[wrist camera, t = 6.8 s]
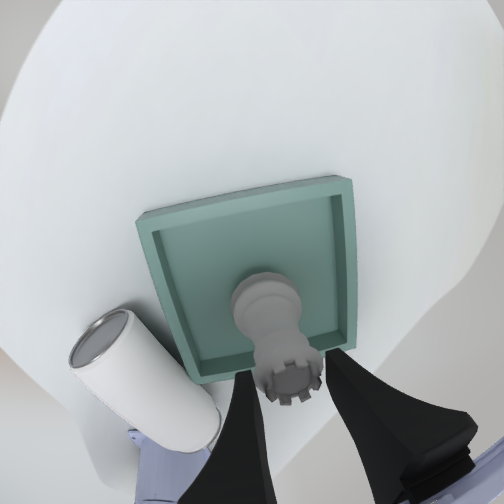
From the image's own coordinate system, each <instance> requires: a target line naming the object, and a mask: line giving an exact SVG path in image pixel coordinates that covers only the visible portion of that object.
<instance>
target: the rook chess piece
mask: <svg viewBox="0 0 504 504" xmlns="http://www.w3.org/2000/svg"><path fill="white" fill-rule="evenodd" d="M230 308H231V312H232V316H233V319H234V323H235V325H236V326H237V328H238V329H239V330H240V331H241V332H242V333H243V335H244V336H246V337H248V338H249V339H250V340H252V341H253V343H254V346H255V350H254V354H253V356H254V360H255V363H256V365H255V369H254V372H253V379H254V383H255V386H256V387H258V388H259V389H260V390H261V391H262V392H263V393H265V394H266V397H267V398H268V399H269V400H270V401H271V402H273V401H275V400H276V399H277V398H279V401H280V405H291V402H292V401H291V398H293V397H297V396H299V398H300V400H301V403H302V402H304V401H306V400H308V399H309V398H311V396H310V394H309V390H310V389H311V388H312V389H313V390H317V391H318V390H319V388H320V386H321V384H322V382H321V380H320V376H321V372H322V370H323V358H322V356H321V355H320V353H319V352H318V350H317V349H315V348H312V347H310V346H309V341H308V339H307V338H306V336H305V335H304V334H302V333H300V331H299V326H298V323H299V320H300V317H301V314H302V305H301V297H300V296H299V294H298V290H297V288H296V287H295V285H294V284H293V282H292V281H291V280H290V279H288V278H286V277H285V276H283V275H282V274H278V273H272V272H263V273H259V274H254V275H251V276H250V277H248V278H247V279H245V280H244V281H242V282H241V283H240V284H239V285H238V287H237V288H236V289H235V291H234V292H233V294H232V299H231V303H230Z"/></svg>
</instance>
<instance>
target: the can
mask: <svg viewBox="0 0 504 504" xmlns="http://www.w3.org/2000/svg"><path fill="white" fill-rule="evenodd" d="M69 365H70V371H71V373H72V374H73V375H74V376H75V377H76V378H77V379H78V380H79V381H80V382H81V383H82V384H83V385H84V386H85V387H86V388H88V389H89V390H90V391H91V392H92V393H93V394H94V395H95V396H96V397H98V398H99V399H100V400H101V401H102V402H103V403H104V404H106V405H107V406H108V407H109V408H110V409H112V410H113V411H114V412H115V413H117V414H118V415H119V416H120V417H122V418H123V419H124V420H125V421H127V422H128V423H129V424H131V425H132V426H133V427H135V428H136V429H137V430H139V431H140V432H142V433H143V434H144V435H146V436H147V437H149V438H150V439H152V440H153V441H155V442H156V443H158V444H159V445H161V446H162V447H164V448H166V449H169V450H173V451H178V452H180V453H183V454H193V453H197V452H199V451H202V450H203V449H205V448H206V447H208V446H209V445H210V444H211V443H212V442H213V441H214V440H215V438H216V437H217V435H218V433H219V431H220V428H221V414H220V412H219V410H218V409H217V407H216V406H215V403H214V401H213V399H212V397H211V396H210V395H209V394H208V393H207V392H206V391H205V390H204V389H203V388H202V387H201V386H200V385H196V384H195V383H194V382H193V381H192V380H191V379H190V377H189V374H188V373H187V372H186V371H185V369H184V368H183V367H182V366H181V365H180V364H179V363H178V362H177V361H176V360H175V359H174V358H173V357H172V356H171V355H170V354H169V352H168V351H167V350H166V349H165V348H164V347H163V346H162V345H161V344H160V343H159V341H158V340H157V339H156V338H155V337H154V336H153V335H152V334H151V332H150V331H149V330H148V329H147V328H146V327H145V326H144V324H143V323H142V322H141V321H140V320H139V319H138V317H137V316H136V315H135V314H134V313H133V312H132V311H130V310H125V309H117V310H114V311H112V312H110V313H108V314H106V315H105V316H103V317H102V318H100V319H99V320H98V321H96V322H95V323H94V324H93V325H92V326H91V327H90V328H88V329H87V330H86V332H85V333H84V334H83V335H82V336H81V337H80V338H79V340H78V341H77V342H76V344H75V345H74V347H73V349H72V351H71V353H70V356H69Z"/></svg>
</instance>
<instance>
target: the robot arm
mask: <svg viewBox="0 0 504 504" xmlns="http://www.w3.org/2000/svg"><path fill="white" fill-rule="evenodd" d="M325 363H326V384H327V387H328V389H329V392H330V395H331V397H332V400H333V402H334V404H335V406H336V408H337V410H338V412H339V413H340V415H341V417H342V419H343V421H344V423H345V424H346V427H347V428H348V430H349V432H350V434H351V436H352V438H353V440H354V442H355V444H356V447H357V450H358V452H359V455H360V458H361V460H362V463H363V466H364V469H365V472H366V475H367V478H368V481H369V484H370V487H371V490H372V493H373V497H374V501H375V504H431V503H432V502H434V501H435V502H434V503H432V504H489V503H491V502H492V501H493V500H494V499H495V498H497V497H498V496H499V495H500V494H501V493H502V492H503V491H504V437H502V438H501V439H500V440H499V441H497V442H496V443H495V444H494V445H493V446H491V447H490V448H489V449H488V450H486V451H485V452H484V453H482V454H481V455H480V456H478V457H477V458H476V459H474V460H472V459H471V458H470V456H469V455H468V454H470V449H469V448H468V447H467V446H468V444H469V443H470V441H471V440H472V439H473V437H474V436H475V434H476V432H477V429H478V426H477V424H476V423H475V422H474V420H473V419H472V418H471V417H470V415H469V414H467V412H463V411H458V410H452V409H447V408H443V407H439V406H436V405H432V404H429V403H426V402H424V401H421V400H418V399H416V398H413V397H411V396H409V395H407V394H404V393H402V392H400V391H399V390H397V389H395V388H393V387H391V386H390V385H387V384H386V383H385V382H383V381H382V380H380V379H378V378H377V377H376V376H374V375H373V374H371V373H370V372H369V371H367V370H366V369H364V368H363V367H362V366H361V365H359V364H358V363H357V362H356V361H354V360H353V359H352V358H351V357H349V356H348V355H347V354H346V353H345V352H344V351H342V350H341V349H340V348H334V349H331V350H328V351H325ZM128 436H129V437H130V438H131V440H132V441H133V442H134V443H135V444H136V446H137V447H138V448H139V449H140V450H141V451H140V459H139V467H138V475H137V484H136V494H135V503H134V504H277V501H276V497H275V492H274V488H273V484H272V479H271V475H270V471H269V466H268V460H267V451H266V441H265V432H264V423H263V416H262V412H261V407H260V403H259V398H258V394H257V391H256V387H255V383H254V379H253V375H252V371H251V369H250V370H245V371H240V372H237V373H236V374H235V382H234V389H233V394H232V399H231V403H230V407H229V410H228V414H227V417H226V420H225V423H224V426H223V428H222V431H221V433H220V436H219V438H218V440H217V442H216V445H215V447H214V449H213V451H212V452H211V453H210V451H209V449H208V448H207V447H206V448H205V449H203V450H202V451H199V452H197V453H193V454H183V453H180V452H178V451H173V450H169V449H166V448H164V447H162V446H161V445H159V444H158V443H156V442H155V441H153V440H152V439H150V438H149V437H147V436H146V435H144V434H143V433H142V432H140V431H128ZM436 500H437V501H436Z"/></svg>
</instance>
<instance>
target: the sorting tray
mask: <svg viewBox="0 0 504 504" xmlns="http://www.w3.org/2000/svg"><path fill="white" fill-rule="evenodd" d="M135 223H136V227H137V231H138V234H139V238H140V241H141V244H142V248H143V251H144V254H145V258H146V261H147V264H148V267H149V270H150V273H151V277H152V280H153V283H154V286H155V289H156V291H157V294H158V297H159V300H160V303H161V306H162V309H163V311H164V314H165V317H166V319H167V322H168V325H169V327H170V330H171V333H172V335H173V338H174V340H175V343H176V345H177V348H178V350H179V353H180V355H181V358H182V360H183V363H184V365H185V367H186V370H187V372H188V374H189V377H190V379H191V380H192V381H193V382H194V383H195V384H196V385H199V384H206V383H212V382H218V381H224V380H229V379H235V374H236V373H237V372H240V371H245V370H250V369H251V371H252V375H253V372H254V369H255V365H256V363H255V360H254V356H253V354H254V350H255V346H254V343H253V341H252V340H250V339H249V338H248V337H246V336H244V335H243V333H242V332H241V331H240V330H239V329H238V328H237V326H236V325H235V323H234V319H233V316H232V312H231V308H230V303H231V299H232V294H233V292H234V291H235V289H236V288H237V287H238V285H239V284H240V283H241V282H242V281H244V280H245V279H247V278H248V277H250V276H251V275H254V274H259V273H263V272H272V273H278V274H282V275H283V276H285V277H286V278H288V279H290V280H291V281H292V282H293V284H294V285H295V287H296V288H297V290H298V294H299V296H300V297H301V305H302V314H301V317H300V320H299V323H298V326H299V331H300V333H302V334H304V335H305V336H306V338H307V339H308V341H309V346H310V347H312V348H315V349H317V350H318V352H319V353H320V355H321V356H322V358H324V357H325V351H328V350H331V349H334V348H340V349H341V350H342V351H347V350H350V349H354V348H356V338H357V245H356V225H355V210H354V197H353V186H352V179H349V178H345V177H341V176H338V175H333V176H326V177H319V178H313V179H306V180H300V181H294V182H288V183H282V184H276V185H271V186H265V187H260V188H254V189H249V190H244V191H239V192H233V193H228V194H224V195H219V196H214V197H209V198H205V199H200V200H195V201H191V202H186V203H182V204H178V205H173V206H169V207H165V208H161V209H157V210H152V211H148V212H144V213H143V214H142V215H141V216H140V217H139V218H138V219H137V220H136V221H135Z"/></svg>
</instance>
